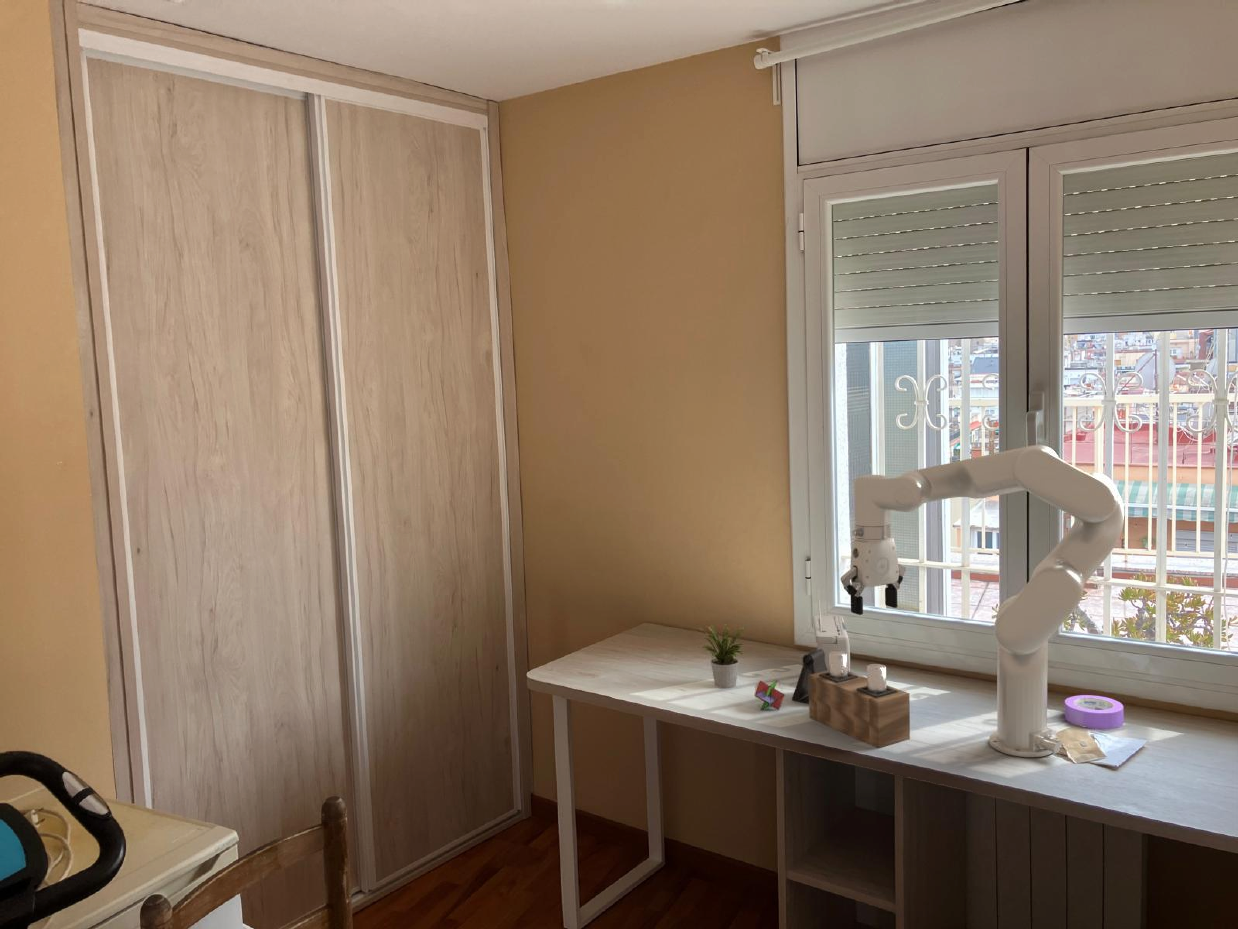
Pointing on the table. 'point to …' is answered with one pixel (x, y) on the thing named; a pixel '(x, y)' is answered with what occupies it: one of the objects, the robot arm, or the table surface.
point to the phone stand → (811, 665)
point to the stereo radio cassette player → (831, 635)
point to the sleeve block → (859, 709)
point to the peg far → (838, 665)
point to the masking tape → (1094, 712)
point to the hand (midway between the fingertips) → (874, 610)
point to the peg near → (876, 678)
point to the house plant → (724, 658)
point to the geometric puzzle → (769, 694)
